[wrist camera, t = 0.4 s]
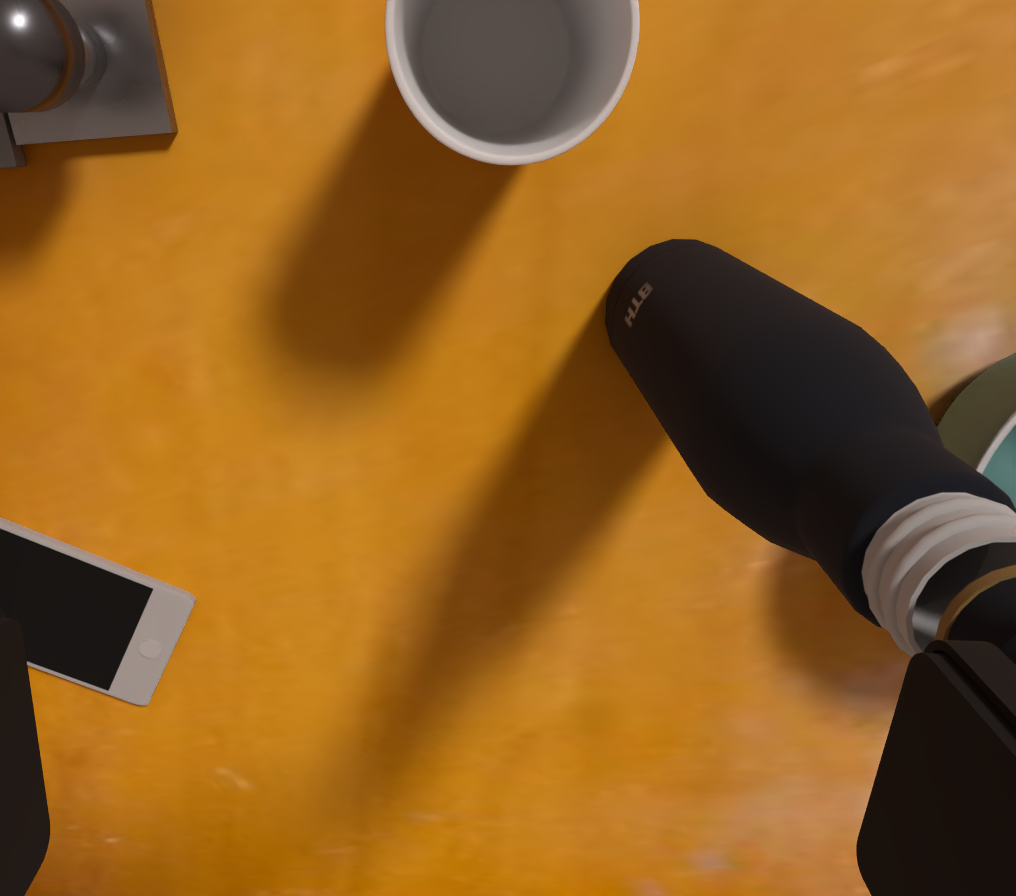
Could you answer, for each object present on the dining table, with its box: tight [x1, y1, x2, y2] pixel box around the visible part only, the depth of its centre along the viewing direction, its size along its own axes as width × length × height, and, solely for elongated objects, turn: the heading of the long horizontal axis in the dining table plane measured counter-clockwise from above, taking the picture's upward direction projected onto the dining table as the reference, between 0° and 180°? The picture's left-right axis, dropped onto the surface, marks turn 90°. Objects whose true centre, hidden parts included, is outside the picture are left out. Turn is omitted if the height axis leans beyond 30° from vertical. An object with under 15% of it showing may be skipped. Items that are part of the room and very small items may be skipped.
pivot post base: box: [8, 0, 178, 145], centre depth 31 cm, size 6×6×4 cm
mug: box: [385, 0, 640, 165], centre depth 28 cm, size 10×7×12 cm, turn 138°
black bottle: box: [605, 239, 1016, 665], centre depth 24 cm, size 6×6×30 cm
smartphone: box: [0, 517, 196, 706], centre depth 41 cm, size 7×15×1 cm, turn 62°
